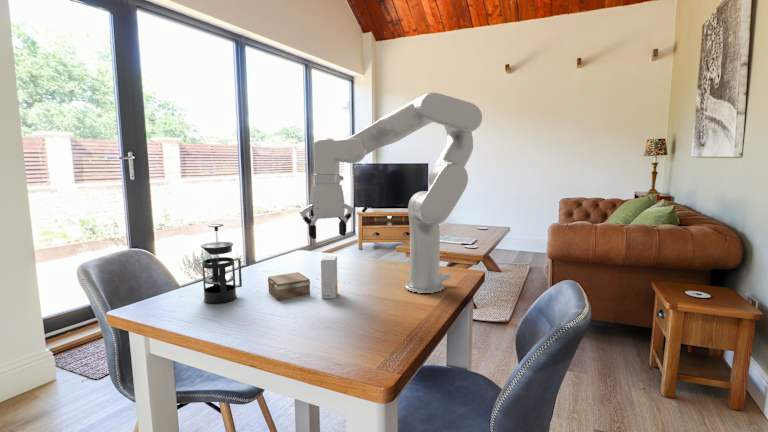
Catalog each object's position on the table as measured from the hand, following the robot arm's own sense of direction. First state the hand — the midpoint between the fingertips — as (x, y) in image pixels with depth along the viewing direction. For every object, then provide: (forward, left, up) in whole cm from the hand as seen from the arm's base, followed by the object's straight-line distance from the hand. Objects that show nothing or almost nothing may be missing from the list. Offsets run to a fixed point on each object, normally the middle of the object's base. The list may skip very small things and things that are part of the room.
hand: (328, 236), depth 130 cm
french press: (+29, -15, -19) cm, 37 cm away
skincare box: (0, 0, -19) cm, 19 cm away
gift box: (+10, -9, -19) cm, 23 cm away
